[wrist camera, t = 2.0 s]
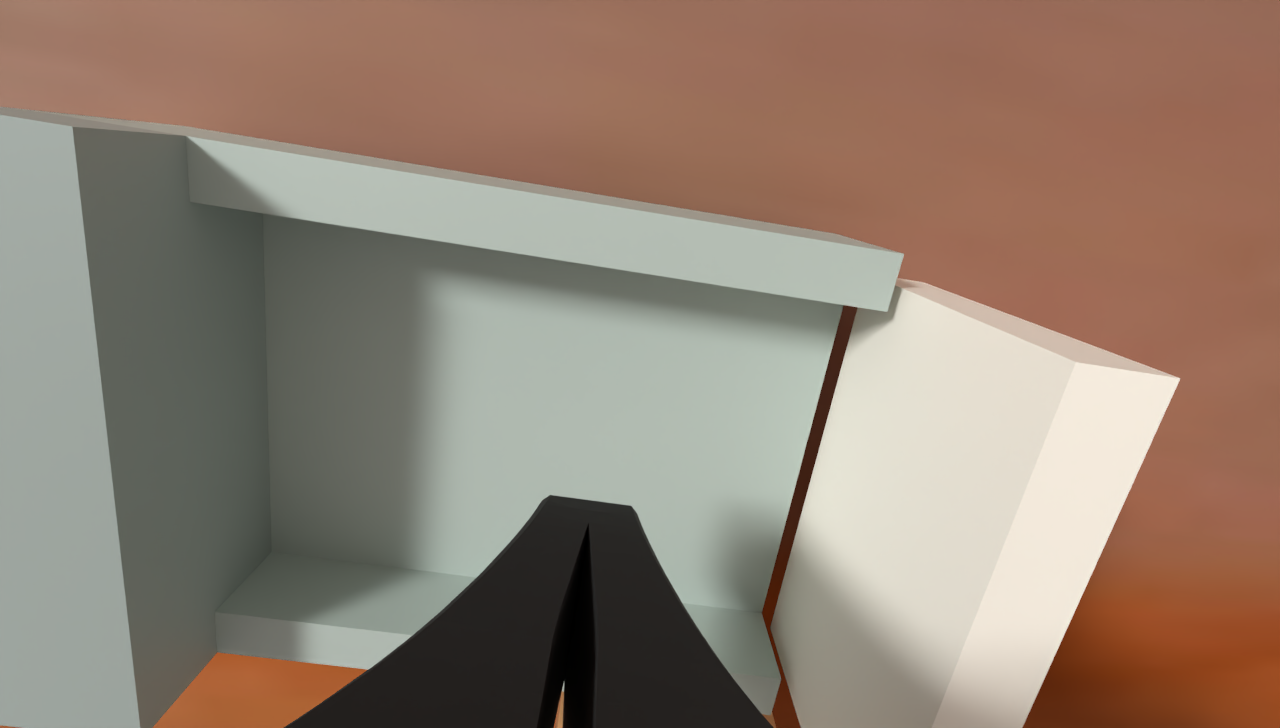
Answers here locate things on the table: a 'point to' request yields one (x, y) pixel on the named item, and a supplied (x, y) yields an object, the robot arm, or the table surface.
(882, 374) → the panel
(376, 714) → the robot arm
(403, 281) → the bed
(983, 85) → the table surface
